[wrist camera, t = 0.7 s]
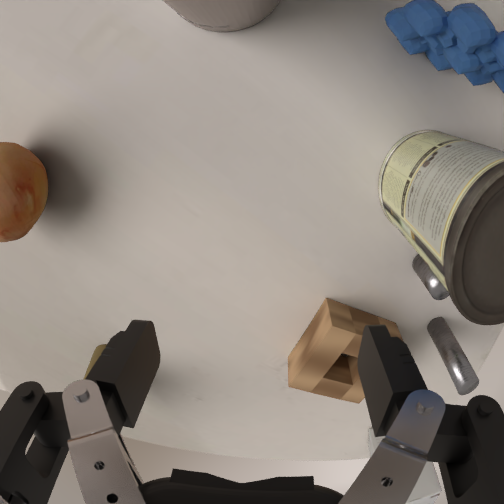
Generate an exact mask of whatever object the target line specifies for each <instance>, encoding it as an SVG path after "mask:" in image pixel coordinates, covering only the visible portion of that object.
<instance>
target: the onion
mask: <svg viewBox="0 0 504 504" xmlns="http://www.w3.org/2000/svg"><path fill="white" fill-rule="evenodd" d="M47 196H48V178H47V173H46V170H45V167H44V166H43V164H42V162H41V161H40V160H39V159H38V158H37V157H36V156H35V155H34V154H33V153H32V152H31V151H29V150H28V149H26V148H24V147H22V146H20V145H19V144H16V143H9V142H0V242H8V241H13V240H17V239H20V238H22V237H24V236H25V235H26V234H27V233H28V232H29V230H30V229H31V228H32V227H33V225H34V224H35V223H36V222H37V220H38V219H39V217H40V215H41V214H42V212H43V210H44V207H45V204H46V201H47Z"/></svg>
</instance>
